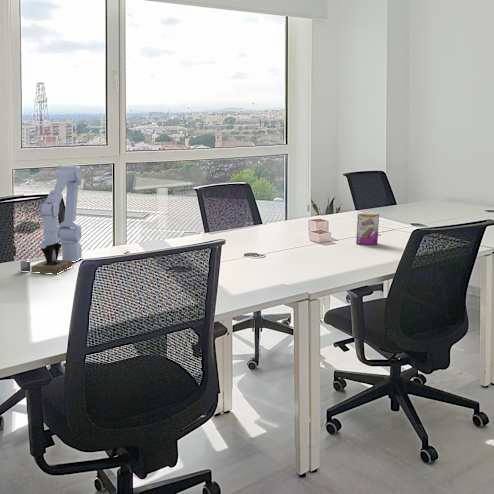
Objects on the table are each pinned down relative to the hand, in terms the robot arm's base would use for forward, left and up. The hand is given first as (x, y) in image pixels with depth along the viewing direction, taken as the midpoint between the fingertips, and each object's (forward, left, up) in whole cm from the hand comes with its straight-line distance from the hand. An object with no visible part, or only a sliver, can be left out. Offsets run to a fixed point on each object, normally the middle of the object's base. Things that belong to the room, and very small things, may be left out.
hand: (52, 261), depth 298 cm
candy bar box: (-98, +129, -4) cm, 162 cm away
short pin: (+5, -10, -4) cm, 12 cm away
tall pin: (0, 0, -2) cm, 3 cm away
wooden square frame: (0, 0, -4) cm, 4 cm away
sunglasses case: (-22, +24, -5) cm, 33 cm away
